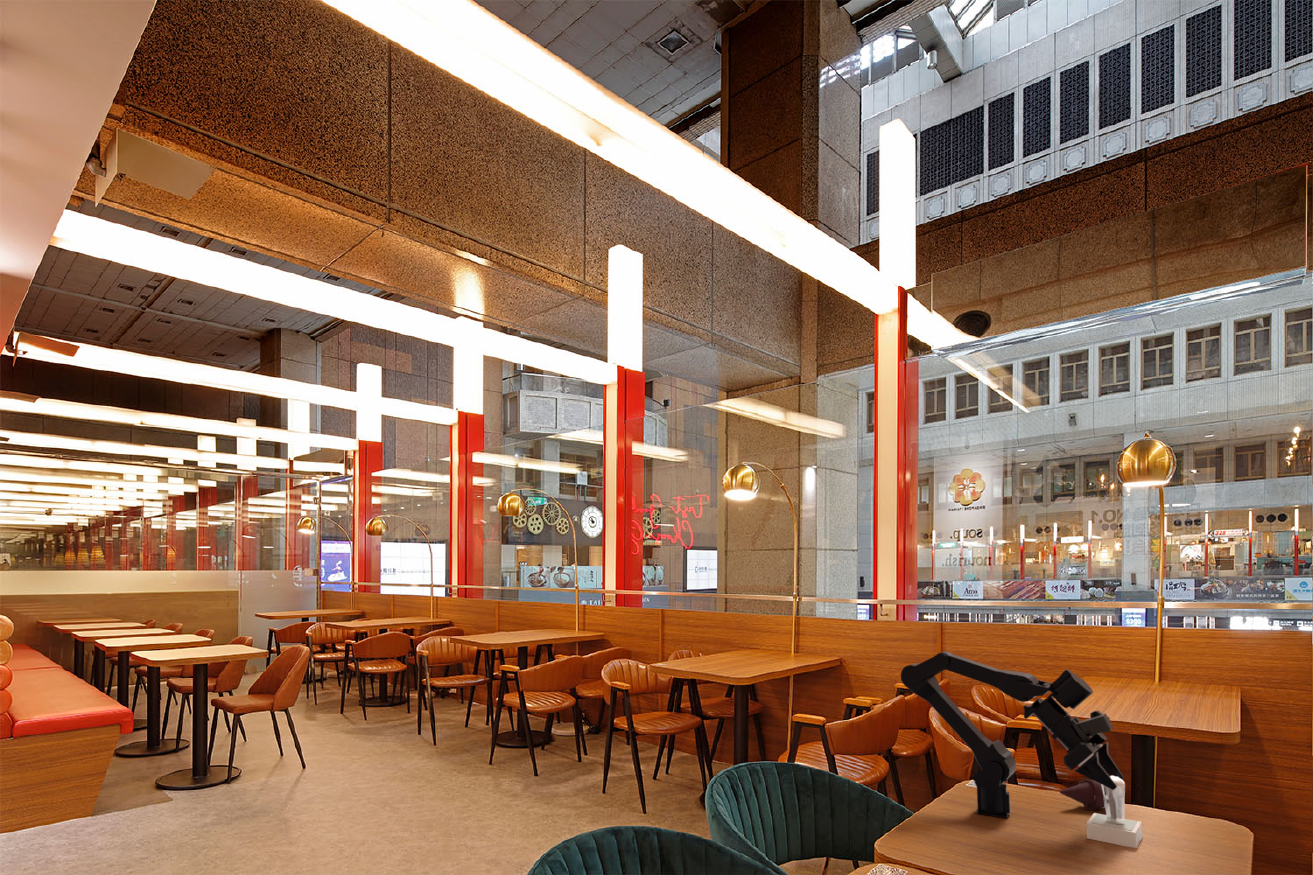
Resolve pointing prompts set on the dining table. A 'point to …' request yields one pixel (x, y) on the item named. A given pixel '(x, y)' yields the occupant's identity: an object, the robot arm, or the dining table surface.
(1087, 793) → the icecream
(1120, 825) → the tile base
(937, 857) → the dining table surface
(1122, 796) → the milkshake
